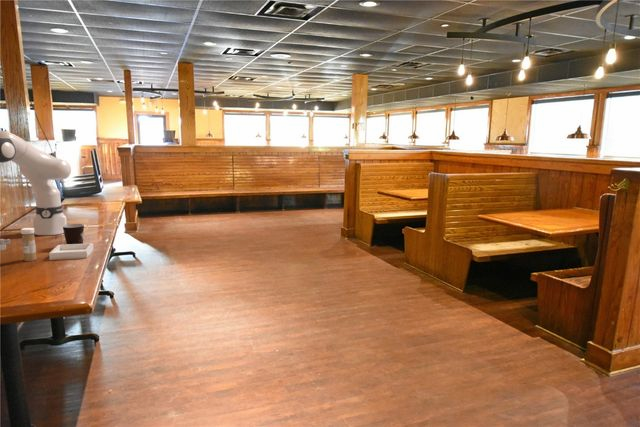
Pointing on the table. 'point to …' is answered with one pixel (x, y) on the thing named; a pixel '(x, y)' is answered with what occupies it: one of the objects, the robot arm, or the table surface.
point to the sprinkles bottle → (28, 244)
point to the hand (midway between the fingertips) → (8, 244)
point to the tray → (71, 251)
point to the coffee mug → (74, 233)
